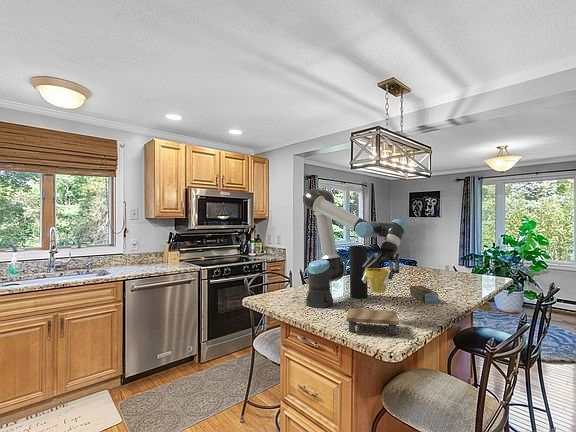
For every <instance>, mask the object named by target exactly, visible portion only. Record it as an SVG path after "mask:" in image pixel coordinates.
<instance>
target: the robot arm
mask: <svg viewBox="0 0 576 432" xmlns="http://www.w3.org/2000/svg"><path fill="white" fill-rule="evenodd" d="M302 203H303V205H304V206H305V207H306V208H308V209H309V210H311V211H312V213H313V215H314V216H316V222H317V223H316V224H317V229H318V236H319V242H320V249H321V255H322V256H321V257H320V259H317V260H312V261H311V262H309V264H308V266H307V274H308V275H307V277H308V282H307V283H308V291H307V294H306V297H305V305H306V306H307V305H308V307H310V306H312V307H311V308H316V307H324V308H329V307H333V306H334V298H333V295H332V292H331V284H330V283H332V282H336V281H339V280H341V279H342V278H343V277H344V276H345V274H346V264H345V263H344V262H343V261H342V260H341V256H340V255H339V254H338V253H337V252H338V251H337V246H336V239H335V232H334V227H333V221H334V222H336V223H338V224H341V225H342V226H343V227H346V228H348V229H349V230H350V231H353V232H354V233H355V234H356V235H357V236H358V237H359V238H364V239H367V238H374V237H381V238H384V239H383V241H382V243H381V246H380V248H379V251H377V252H375V251H372V253H371V255H370V256H369V257H368V258H367V261H366V262H365V263H364V265H363V266H362V267H363V268H364V270H365V271H364V273H363V275H364V276H363V278H362V281H363V282H364V283H366V281H367V282H368V278H367V277H366V269H369V268H376V266H377V265H378V264H381V263H384V262H385V263H388V266H389V271H388V273H387V276H386V278H385V280H384V284H385V286H386V287H388V286H389V284H390V281H391V280H393V278H394V276H395V274H400V259H401V255H400V253H397V251H398V249H399V246H400V244H401V241H402V239H403V237H404V234H405V233H406V232H405V231H406V228H407V224H406V222H405V221H404V220H402V219H398V218H396V219H393V220H392V221H391V222H381V221H374V220H373V221H370V220H369V221H367V220H366V219H364V218H361V217H360V216H358V215H357V214H356V215H355V214H354V213H352V212H351V211H348V210H346V209H344V208H342V207H340V206H338V205H337V204H335V196H334V195H333V194H332V193H331V191H329V190H325V189H317V188H310V189H307V190H306V191H305V192H304V193H303V196H302ZM393 259H394V265H393V261H392V260H393Z"/></svg>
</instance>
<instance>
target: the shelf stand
mask: <svg viewBox="0 0 576 432" xmlns="http://www.w3.org/2000/svg"><path fill="white" fill-rule="evenodd" d="M345 320H346V322H348V332H349V333H352V334H353V333H356V325H357V323H362V324H374V325H375V324H377V325H378V324H379V325H388V328H389V336H392V337H396V336H397V335H398V328H397V327H398V326H399V325H400V322H399V316H398V313H397V311H396V310H381V309H365V308H364V309H362V308H351V307H349V308H348V311H347V314H346V319H345Z"/></svg>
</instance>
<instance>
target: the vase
mask: <svg viewBox="0 0 576 432" xmlns="http://www.w3.org/2000/svg"><path fill="white" fill-rule="evenodd" d="M367 248H368V246H367V245H350V246H348V250H349V251H348V252H349V254H348V258H349V294H350V295H349V296H350V298H352V299H356V300H357V299H360V300H361V299H363V300H364V299H367V298H368V295H369V294H368V280H367V281H366V283H364V282H363V281H362V278H363V276H364V275H363V273H364V271H365V270H364V268H363V267H362V266H363V265H364V263H365V262H366V261H367V260H368V251H367V250H368V249H367Z"/></svg>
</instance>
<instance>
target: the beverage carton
mask: <svg viewBox="0 0 576 432" xmlns="http://www.w3.org/2000/svg"><path fill="white" fill-rule="evenodd" d="M409 293H410V295H409V296H410V297H412V298H414V299H415V300H418V301H419V302H421V303H423V304H425V305H431V304H432V305H433V304H434V305H435V304H436V305H437V304H439V293H438V292H437V291H434V290H432V289H430V288H429V287H426V286H424V285H410V286H409Z"/></svg>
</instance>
